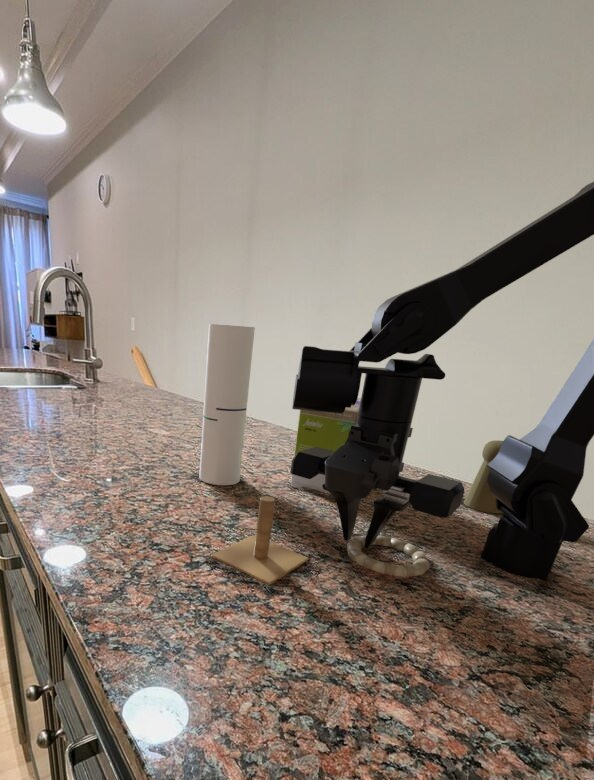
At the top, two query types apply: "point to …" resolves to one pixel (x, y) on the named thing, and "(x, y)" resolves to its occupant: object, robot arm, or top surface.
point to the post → (261, 550)
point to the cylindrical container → (225, 402)
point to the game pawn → (484, 482)
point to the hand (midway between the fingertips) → (357, 543)
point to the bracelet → (413, 569)
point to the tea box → (322, 437)
